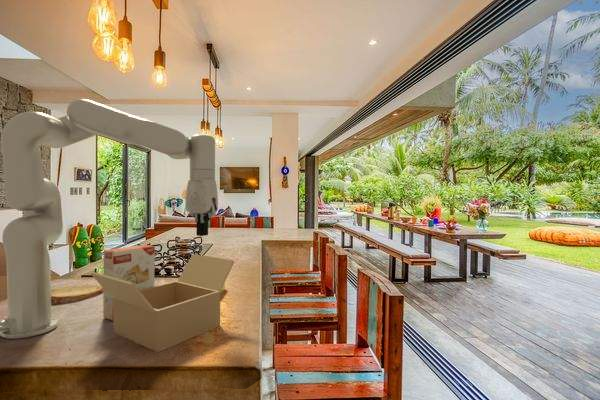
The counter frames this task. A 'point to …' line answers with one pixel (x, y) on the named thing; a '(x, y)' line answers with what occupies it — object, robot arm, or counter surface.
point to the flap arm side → (123, 291)
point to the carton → (168, 315)
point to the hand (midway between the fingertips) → (202, 235)
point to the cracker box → (128, 270)
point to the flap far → (206, 272)
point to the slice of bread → (74, 293)
